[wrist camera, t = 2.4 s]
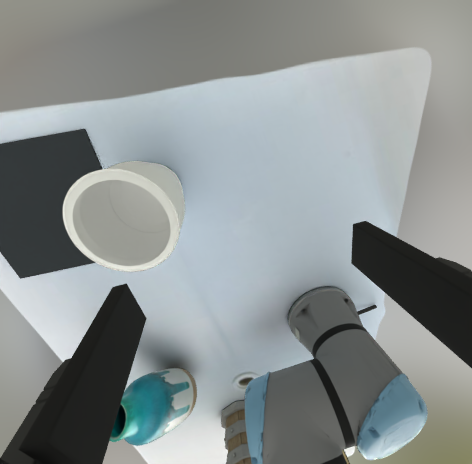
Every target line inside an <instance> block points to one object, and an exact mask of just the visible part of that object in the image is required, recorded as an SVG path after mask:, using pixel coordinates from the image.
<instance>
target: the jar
mask: <svg viewBox="0 0 472 464" xmlns="http://www.w3.org/2000/svg"><path fill="white" fill-rule="evenodd" d="M184 216H185V200H184V196H183V190H182V185H181V182H180V180H179V179H178V177H177V176H176V174H175V173H174V172H173V171H172V170H170V169H169V168H167V167H166V166H164V165H161V164H157V163H148V162H143V161H128V162H123V163H119V164H116V165H113V166H111V167H109V168H107V169H102V170H97V171H94V172H91V173H88V174H86V175H84V176H83V177H81V178H80V179H78V180H77V181H76V182H75V183H74V184H73V185H72V186H71V188H70V189H69V191H68V192H67V194H66V197H65V200H64V204H63V221H64V225H65V228H66V231H67V233H68V235H69V237H70V238H71V240H72V242H73V243H74V244H75V246H76V247H77V248H78V249H79V250H80V251H81V252H82V253H83V254H84V255H85V256H87V257H88V258H89V259H91V260H92V261H94V262H96V263H98V264H100V265H102V266H104V267H107V268H110V269H113V270H117V271H124V272H136V271H143V270H147V269H150V268H153V267H155V266H157V265H159V264H160V263H162V262H163V261H164V260H166V259H167V258H168V257H169V255H170V254H171V253H172V252H173V250H174V248H175V246H176V244H177V242H178V238H179V234H180V229H181V226H182V224H183V220H184Z"/></svg>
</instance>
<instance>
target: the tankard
mask: <svg viewBox="0 0 472 464" xmlns="http://www.w3.org/2000/svg"><path fill="white" fill-rule="evenodd" d="M221 424H222V427H223V428H225V439H224V441H225V447H226V449H228V454H227V462H226V464H252V463H251V456H250V453H249V448H248V441H247V432H246V421H245V400H242V401H235V402H234V403H232V404H231V405H229V406H228V407H226V408H225V409H224V410H222V417H221Z"/></svg>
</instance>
